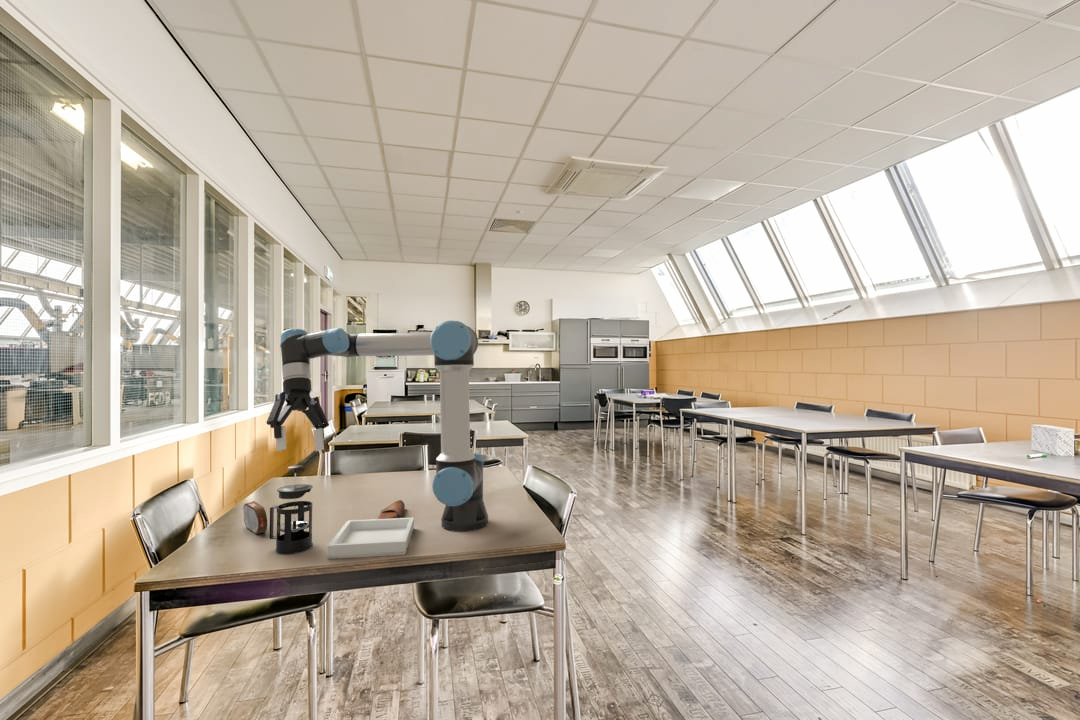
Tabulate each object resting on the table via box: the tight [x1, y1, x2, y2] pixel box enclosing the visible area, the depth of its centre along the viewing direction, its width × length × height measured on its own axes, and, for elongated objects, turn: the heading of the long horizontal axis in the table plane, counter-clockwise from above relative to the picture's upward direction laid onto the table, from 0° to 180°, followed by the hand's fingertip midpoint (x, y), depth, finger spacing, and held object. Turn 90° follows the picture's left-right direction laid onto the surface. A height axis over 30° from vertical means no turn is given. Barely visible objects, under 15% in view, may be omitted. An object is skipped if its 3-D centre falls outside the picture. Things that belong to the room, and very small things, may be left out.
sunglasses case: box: [377, 499, 406, 519], centre depth 164 cm, size 18×7×7 cm
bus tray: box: [327, 517, 415, 560], centre depth 139 cm, size 20×22×4 cm
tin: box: [242, 500, 268, 535], centre depth 150 cm, size 15×3×8 cm, turn 47°
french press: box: [268, 464, 314, 555], centre depth 135 cm, size 12×9×23 cm
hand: (301, 450), depth 138 cm, fingers open, 13 cm apart
